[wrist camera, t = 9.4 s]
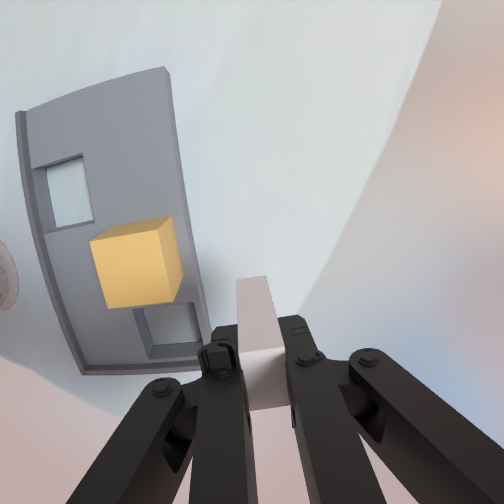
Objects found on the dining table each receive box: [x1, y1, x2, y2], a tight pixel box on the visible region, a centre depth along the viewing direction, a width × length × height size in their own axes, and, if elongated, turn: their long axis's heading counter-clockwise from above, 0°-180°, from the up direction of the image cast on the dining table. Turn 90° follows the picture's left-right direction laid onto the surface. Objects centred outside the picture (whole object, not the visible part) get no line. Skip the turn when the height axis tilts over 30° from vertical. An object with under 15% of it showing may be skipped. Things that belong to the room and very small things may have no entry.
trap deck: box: [15, 66, 212, 375], centre depth 25 cm, size 14×26×4 cm, turn 7°
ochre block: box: [90, 216, 184, 309], centre depth 22 cm, size 5×5×5 cm
